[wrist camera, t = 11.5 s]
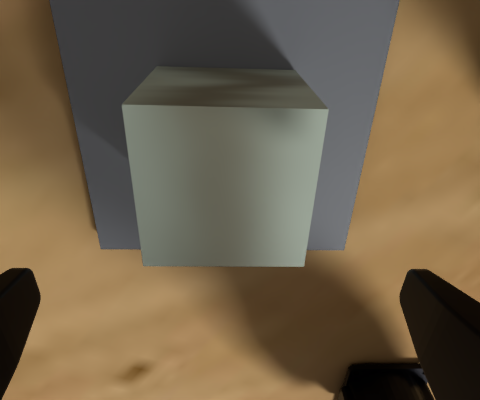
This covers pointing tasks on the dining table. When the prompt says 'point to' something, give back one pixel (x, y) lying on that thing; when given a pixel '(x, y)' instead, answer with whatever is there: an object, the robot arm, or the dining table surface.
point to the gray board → (222, 56)
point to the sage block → (224, 165)
